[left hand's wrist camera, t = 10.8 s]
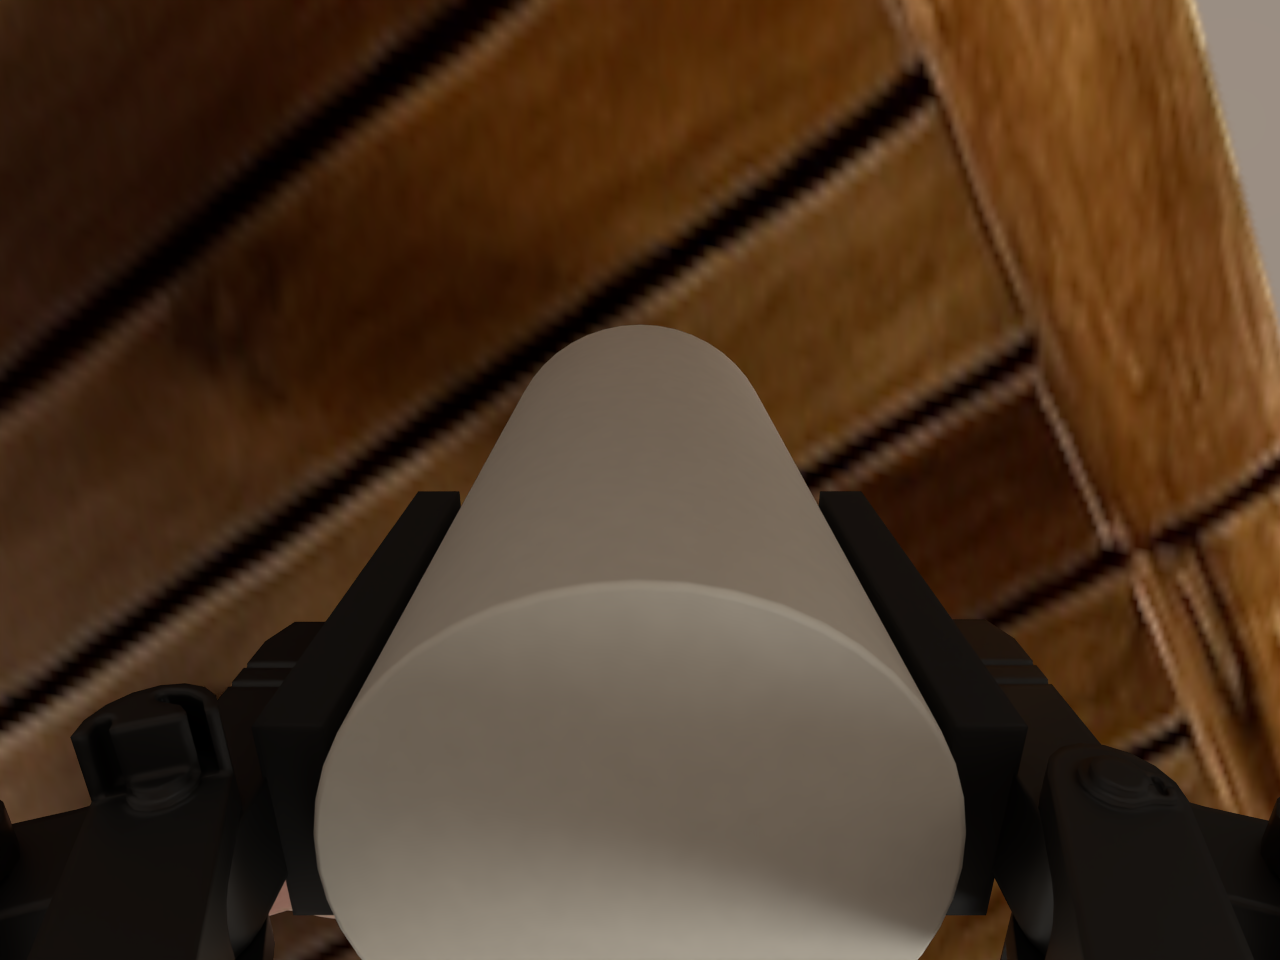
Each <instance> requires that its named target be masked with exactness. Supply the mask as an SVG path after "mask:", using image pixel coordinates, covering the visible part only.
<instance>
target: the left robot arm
mask: <svg viewBox="0 0 1280 960" xmlns="http://www.w3.org/2000/svg"><path fill="white" fill-rule="evenodd" d="M460 508H461V504H460V493H459V491H436V492H418V493H417V494H416V495H415V497H414V498H413V500H412V501H411V503H410V504H409V505H408V507H407V508H406V510H405V511H404V512H403V514H402V515H401V517H400V518H399V519H398V521H397V522H396V524H395V525H394V526H393V528H392V529H391V531H390V532H389V533H388V535H387V536H386V538H385V539H384V540H383V542H382V543H381V545H380V546H379V548H378V549H377V550H376V552H375V553H374V555H373V556H372V557H371V559H370V560H369V562H368V563H367V564H366V566H365V567H364V569H363V570H362V571H361V573H360V574H359V576H358V577H357V578H356V580H355V581H354V583H353V584H352V586H351V587H350V588H349V590H348V591H347V593H346V594H345V595H344V597H343V598H342V600H341V601H340V602H339V604H338V605H337V607H336V608H335V609H334V611H333V612H332V614H331V615H330V616H329V618H328V619H327V621H326V622H294V623H292V624H291V625H289V626H288V627H286V628H285V629H283V630H282V631H280V632H279V633H277V634H276V635H274V636H273V637H271V638H270V639H268V640H267V641H265V642H264V644H263V645H262V646H261V647H260V649H259V650H258V651H257V652H256V654H255V655H254V656H253V657H252V658H251V660H250V661H249V662H248V663H247V668H243V670H242V671H241V672H240V673H239V674H238V676H237V677H236V678H235V679H234V681H233V682H232V687H228V688H227V689H226V690H225V692H224V693H223V694H222V695H221V697H220V698H219V699H218V700H217V698H216V695H214V694H213V693H212V692H210V691H209V690H208V689H206V688H205V687H202V686H196V685H191V684H185V683H184V684H172V685H160V686H156V687H152V688H149V689H145V690H141V691H138V692H134V693H131V694H129V695H127V696H125V697H122V698H120V699H118V700H116V701H114V702H111V703H109V704H107V705H105V706H104V707H102V708H101V709H100V710H98V711H97V712H95V713H94V714H92V715H91V716H90V717H88V718H87V719H85V720H84V721H83V722H82V724H81V725H80V726H79V727H78V728H77V730H76V731H75V732H74V733H73V735H72V736H71V740H72V743H73V746H74V749H75V752H76V755H77V758H78V761H79V764H80V767H81V770H82V773H83V776H84V779H85V782H86V785H87V788H88V791H89V794H90V797H91V800H92V803H91V805H90V806H88V807H84V808H81V809H77V810H73V811H68V812H64V813H59V814H55V815H50V816H46V817H41V818H37V819H32V820H28V821H23V822H19V823H14V824H11V821H10V818H9V816H8V813H7V811H6V808H5V806H4V803H3V802H2V801H1V800H0V960H273V955H274V945H275V943H274V937H273V931H272V926H271V921H270V917H269V912H270V910H271V908H272V906H273V904H274V902H275V900H276V898H277V896H278V894H279V892H280V890H281V888H282V886H283V884H284V882H285V880H286V884H287V889H288V893H289V898H290V902H291V906H292V911H293V915H334V914H333V912H332V910H331V908H330V906H329V904H328V901H327V899H326V896H325V892H324V889H323V885H322V882H321V879H320V875H319V872H318V868H317V860H316V851H315V843H314V815H315V798H316V794H317V790H318V786H319V781H320V777H321V773H322V768H323V765H324V763H325V760H326V758H327V755H328V753H329V751H330V748H331V746H332V744H333V741H334V739H335V737H336V734H337V732H338V730H339V729H340V727H341V725H342V723H343V721H344V719H345V718H346V716H347V714H348V712H349V710H350V709H351V707H352V705H353V703H354V701H355V699H356V698H357V696H358V694H359V692H360V690H361V688H362V687H363V685H364V683H365V681H366V679H367V678H368V676H369V674H370V672H371V670H372V668H373V667H374V665H375V663H376V661H377V659H378V657H379V656H380V654H381V652H382V650H383V648H384V647H385V645H386V643H387V641H388V639H389V637H390V636H391V634H392V632H393V630H394V628H395V626H396V625H397V623H398V621H399V619H400V617H401V616H402V614H403V612H404V610H405V608H406V606H407V605H408V603H409V601H410V599H411V597H412V595H413V594H414V592H415V590H416V588H417V586H418V585H419V583H420V581H421V579H422V577H423V575H424V574H425V572H426V570H427V568H428V566H429V565H430V563H431V561H432V559H433V557H434V555H435V554H436V552H437V550H438V548H439V546H440V544H441V543H442V541H443V539H444V537H445V535H446V534H447V532H448V530H449V528H450V526H451V524H452V523H453V521H454V519H455V517H456V515H457V513H458V512H459V510H460ZM819 508H820V510H821V512H822V514H823V516H824V518H825V519H826V521H827V523H828V525H829V527H830V529H831V530H832V532H833V534H834V536H835V538H836V540H837V541H838V543H839V545H840V547H841V549H842V551H843V552H844V554H845V556H846V558H847V560H848V561H849V563H850V565H851V567H852V569H853V571H854V572H855V574H856V576H857V578H858V580H859V582H860V583H861V585H862V587H863V589H864V591H865V593H866V594H867V596H868V598H869V600H870V602H871V603H872V605H873V607H874V609H875V611H876V613H877V614H878V616H879V618H880V620H881V622H882V624H883V625H884V627H885V629H886V631H887V633H888V635H889V636H890V638H891V640H892V642H893V644H894V646H895V647H896V649H897V651H898V653H899V655H900V656H901V658H902V660H903V662H904V664H905V666H906V667H907V669H908V671H909V673H910V675H911V677H912V678H913V680H914V682H915V684H916V686H917V688H918V689H919V691H920V693H921V695H922V697H923V698H924V700H925V702H926V704H927V706H928V708H929V709H930V711H931V713H932V715H933V717H934V719H935V720H936V722H937V724H938V726H939V728H940V730H941V731H942V734H943V736H944V738H945V741H946V743H947V745H948V747H949V750H950V752H951V754H952V757H953V759H954V761H955V763H956V767H957V771H958V775H959V779H960V783H961V788H962V792H963V796H964V807H965V823H966V838H965V847H964V856H963V865H962V870H961V873H960V877H959V880H958V884H957V887H956V891H955V894H954V898H953V900H952V902H951V904H950V907H949V909H948V911H947V913H946V915H986V913H987V909H988V904H989V900H990V895H991V891H992V886H993V882H994V878H995V879H996V881H997V883H998V885H999V887H1000V889H1001V891H1002V893H1003V895H1004V897H1005V899H1006V901H1007V903H1008V905H1009V907H1010V909H1011V911H1012V913H1011V917H1010V921H1009V926H1008V930H1007V934H1006V938H1005V942H1004V946H1003V950H1002V955H1001V959H1000V960H1280V797H1279V798H1278V799H1277V801H1276V804H1275V806H1274V809H1273V811H1272V814H1271V817H1270V819H1269V821H1267V820H1263V819H1258V818H1254V817H1249V816H1245V815H1240V814H1236V813H1231V812H1227V811H1222V810H1218V809H1213V808H1209V807H1204V806H1200V805H1197V804H1193V803H1190V802H1189V801H1188V799H1187V798H1186V797H1185V795H1184V794H1183V792H1182V791H1181V789H1180V788H1179V786H1178V785H1177V784H1176V782H1174V781H1173V780H1172V779H1171V778H1169V777H1168V776H1167V775H1166V774H1164V773H1163V772H1162V771H1161V770H1159V769H1158V768H1157V767H1156V766H1154V765H1152V764H1150V763H1148V762H1146V761H1144V760H1142V759H1140V758H1139V757H1137V756H1135V755H1133V754H1131V753H1128V752H1125V751H1121V750H1118V749H1115V748H1112V747H1108V746H1105V745H1101V744H1100V743H1099V742H1098V740H1097V739H1096V738H1095V737H1094V735H1093V734H1092V733H1091V732H1090V731H1089V729H1088V728H1087V727H1086V726H1085V724H1084V723H1083V722H1082V721H1081V720H1080V718H1079V717H1078V716H1077V715H1076V713H1075V712H1074V711H1073V710H1072V708H1071V707H1070V706H1069V705H1068V704H1067V702H1066V701H1065V700H1064V699H1063V697H1062V696H1061V695H1060V694H1059V693H1058V691H1057V690H1056V689H1055V688H1054V686H1053V685H1052V684H1048V679H1047V678H1046V677H1045V675H1044V674H1043V673H1042V672H1041V671H1040V669H1039V668H1038V667H1037V666H1036V665H1033V661H1032V660H1031V658H1030V657H1029V656H1028V655H1027V653H1026V652H1025V651H1024V650H1023V649H1022V647H1021V646H1020V645H1019V644H1018V642H1017V641H1016V640H1015V639H1014V638H1013V637H1011V636H1010V635H1008V634H1007V633H1005V632H1003V631H1002V630H1000V629H999V628H997V627H996V626H994V625H993V624H991V623H990V622H988V621H987V620H985V619H951V617H950V616H949V614H948V613H947V612H946V610H945V609H944V607H943V606H942V605H941V603H940V602H939V600H938V599H937V597H936V596H935V595H934V593H933V592H932V590H931V589H930V588H929V586H928V585H927V583H926V582H925V581H924V579H923V578H922V576H921V575H920V574H919V572H918V571H917V569H916V568H915V567H914V565H913V564H912V562H911V561H910V559H909V558H908V557H907V555H906V554H905V552H904V551H903V550H902V548H901V547H900V545H899V544H898V543H897V541H896V540H895V538H894V537H893V536H892V534H891V533H890V531H889V530H888V529H887V527H886V526H885V524H884V523H883V522H882V520H881V519H880V517H879V516H878V514H877V513H876V512H875V510H874V509H873V507H872V506H871V505H870V503H869V502H868V500H867V499H866V498H865V496H864V495H863V493H862V492H861V491H820V499H819Z"/></svg>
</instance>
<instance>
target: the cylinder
mask: <svg viewBox="0 0 1280 960" xmlns="http://www.w3.org/2000/svg"><path fill="white" fill-rule="evenodd" d="M965 838H966V823H965V807H964V796H963V792H962V788H961V783H960V779H959V775H958V771H957V767H956V763H955V761H954V759H953V757H952V754H951V752H950V750H949V747H948V745H947V743H946V741H945V738H944V736H943V734H942V731H941V730H940V728H939V726H938V724H937V722H936V720H935V719H934V717H933V715H932V713H931V711H930V709H929V708H928V706H927V704H926V702H925V700H924V698H923V697H922V695H921V693H920V691H919V689H918V688H917V686H916V684H915V682H914V680H913V678H912V677H911V675H910V673H909V671H908V669H907V667H906V666H905V664H904V662H903V660H902V658H901V656H900V655H899V653H898V651H897V649H896V647H895V646H894V644H893V642H892V640H891V638H890V636H889V635H888V633H887V631H886V629H885V627H884V625H883V624H882V622H881V620H880V618H879V616H878V614H877V613H876V611H875V609H874V607H873V605H872V603H871V602H870V600H869V598H868V596H867V594H866V593H865V591H864V589H863V587H862V585H861V583H860V582H859V580H858V578H857V576H856V574H855V572H854V571H853V569H852V567H851V565H850V563H849V561H848V560H847V558H846V556H845V554H844V552H843V551H842V549H841V547H840V545H839V543H838V541H837V540H836V538H835V536H834V534H833V532H832V530H831V529H830V527H829V525H828V523H827V521H826V519H825V518H824V516H823V514H822V512H821V510H820V508H819V507H818V505H817V503H816V501H815V499H814V498H813V496H812V494H811V492H810V490H809V488H808V487H807V485H806V483H805V481H804V479H803V477H802V476H801V474H800V472H799V470H798V468H797V466H796V465H795V463H794V461H793V459H792V457H791V455H790V454H789V452H788V450H787V448H786V446H785V445H784V443H783V441H782V439H781V437H780V435H779V434H778V432H777V430H776V428H775V426H774V424H773V423H772V421H771V419H770V417H769V415H768V413H767V412H766V410H765V408H764V406H763V404H762V403H761V401H760V399H759V397H758V395H757V393H756V392H755V390H754V388H753V387H752V385H751V384H750V382H749V381H748V379H747V377H746V376H745V375H744V374H743V373H742V371H741V370H740V369H739V368H738V367H737V366H736V364H735V363H733V362H732V361H731V360H730V359H729V358H728V357H727V356H726V355H725V354H723V353H722V352H721V351H719V350H718V349H716V348H715V347H713V346H712V345H710V344H709V343H707V342H705V341H703V340H701V339H699V338H697V337H695V336H693V335H691V334H688V333H685V332H682V331H679V330H676V329H671V328H666V327H661V326H653V325H627V326H619V327H614V328H609V329H604V330H601V331H598V332H595V333H592V334H589V335H587V336H585V337H583V338H581V339H579V340H577V341H575V342H573V343H571V344H569V345H568V346H566V347H565V348H564V349H562V350H561V351H559V352H558V353H556V354H555V355H554V356H553V357H552V358H551V359H550V360H549V361H548V362H546V363H545V364H544V365H543V366H542V368H541V369H540V370H539V371H538V372H537V374H536V375H535V376H534V377H533V379H532V380H531V382H530V383H529V385H528V387H527V388H526V390H525V391H524V393H523V395H522V397H521V399H520V400H519V402H518V404H517V406H516V408H515V410H514V411H513V413H512V415H511V417H510V419H509V420H508V422H507V424H506V426H505V428H504V430H503V431H502V433H501V435H500V437H499V439H498V441H497V442H496V444H495V446H494V448H493V450H492V451H491V453H490V455H489V457H488V459H487V461H486V462H485V464H484V466H483V468H482V470H481V472H480V473H479V475H478V477H477V479H476V481H475V482H474V484H473V486H472V488H471V490H470V492H469V493H468V495H467V497H466V499H465V501H464V503H463V504H462V506H461V508H460V510H459V512H458V513H457V515H456V517H455V519H454V521H453V523H452V524H451V526H450V528H449V530H448V532H447V534H446V535H445V537H444V539H443V541H442V543H441V544H440V546H439V548H438V550H437V552H436V554H435V555H434V557H433V559H432V561H431V563H430V565H429V566H428V568H427V570H426V572H425V574H424V575H423V577H422V579H421V581H420V583H419V585H418V586H417V588H416V590H415V592H414V594H413V595H412V597H411V599H410V601H409V603H408V605H407V606H406V608H405V610H404V612H403V614H402V616H401V617H400V619H399V621H398V623H397V625H396V626H395V628H394V630H393V632H392V634H391V636H390V637H389V639H388V641H387V643H386V645H385V647H384V648H383V650H382V652H381V654H380V656H379V657H378V659H377V661H376V663H375V665H374V667H373V668H372V670H371V672H370V674H369V676H368V678H367V679H366V681H365V683H364V685H363V687H362V688H361V690H360V692H359V694H358V696H357V698H356V699H355V701H354V703H353V705H352V707H351V709H350V710H349V712H348V714H347V716H346V718H345V719H344V721H343V723H342V725H341V727H340V729H339V730H338V732H337V734H336V737H335V739H334V741H333V744H332V746H331V748H330V751H329V753H328V755H327V758H326V760H325V763H324V765H323V768H322V773H321V777H320V781H319V786H318V790H317V794H316V798H315V815H314V843H315V851H316V860H317V868H318V872H319V875H320V879H321V882H322V885H323V889H324V892H325V896H326V899H327V901H328V904H329V906H330V908H331V910H332V912H333V914H334V916H335V918H336V920H337V922H338V924H339V927H340V929H341V930H342V932H343V933H344V935H345V936H346V938H347V939H348V941H349V942H350V944H351V945H352V947H353V948H354V950H355V951H356V952H357V954H358V955H359V957H360V958H361V959H362V960H917V959H918V958H919V957H920V956H921V955H922V953H923V952H924V950H925V949H926V947H927V946H928V944H929V943H930V941H931V940H932V938H933V937H934V935H935V934H936V932H937V931H938V929H939V928H940V926H941V924H942V922H943V919H944V917H945V915H946V913H947V911H948V909H949V907H950V904H951V902H952V900H953V898H954V894H955V891H956V887H957V884H958V880H959V877H960V873H961V870H962V865H963V856H964V847H965Z"/></svg>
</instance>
